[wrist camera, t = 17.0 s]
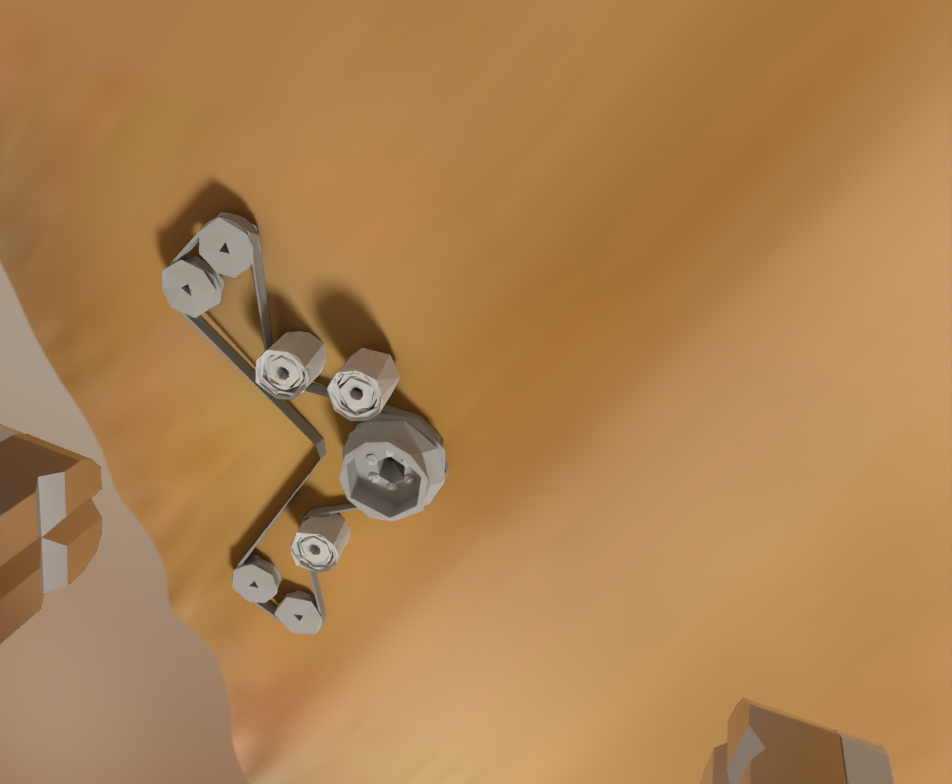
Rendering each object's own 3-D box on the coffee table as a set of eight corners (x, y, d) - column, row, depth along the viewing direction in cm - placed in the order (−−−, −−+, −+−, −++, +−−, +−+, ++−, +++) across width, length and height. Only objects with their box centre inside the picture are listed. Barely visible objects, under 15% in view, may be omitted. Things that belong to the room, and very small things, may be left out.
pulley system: (435, 204, 42) (165, 207, 45) (408, 230, 38) (113, 231, 41) (471, 629, 54) (256, 607, 57) (454, 684, 50) (222, 656, 53)
